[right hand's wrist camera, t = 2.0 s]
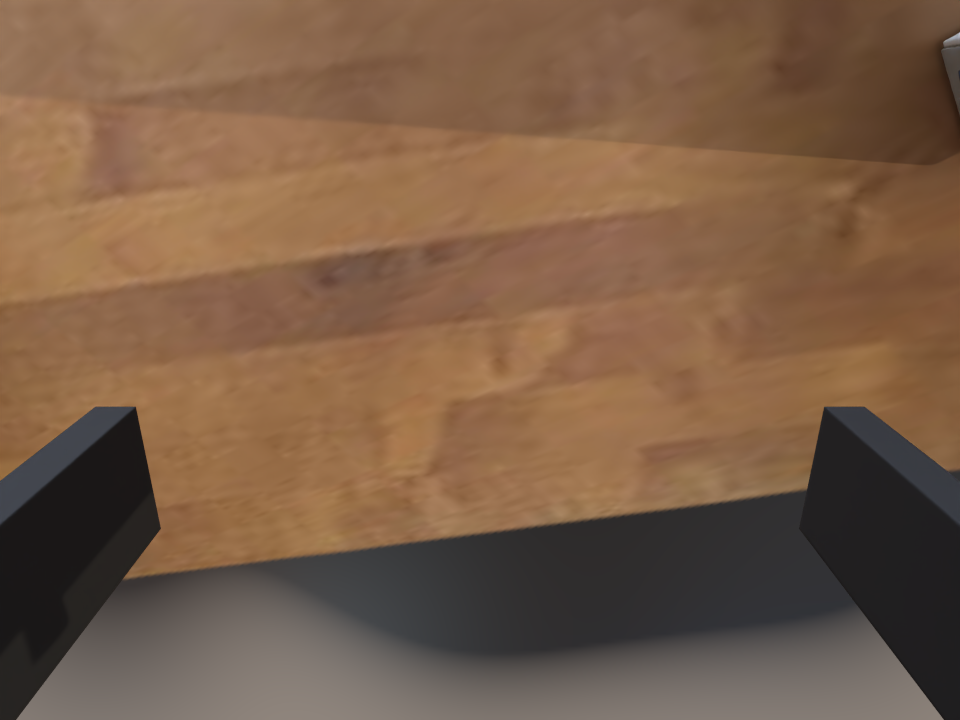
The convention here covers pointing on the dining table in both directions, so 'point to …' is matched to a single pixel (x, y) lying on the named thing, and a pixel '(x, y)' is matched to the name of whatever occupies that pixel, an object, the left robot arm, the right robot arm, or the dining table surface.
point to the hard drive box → (953, 64)
